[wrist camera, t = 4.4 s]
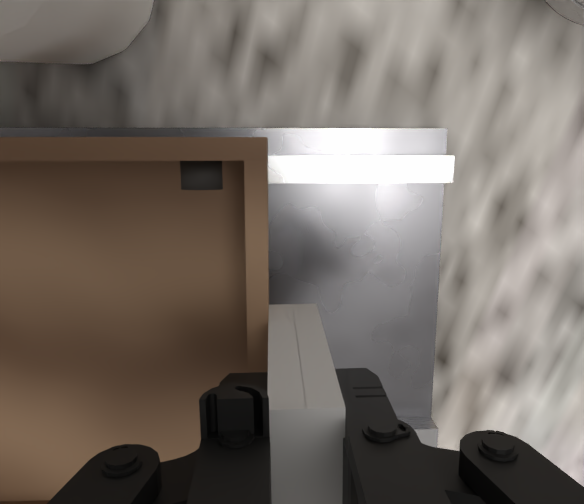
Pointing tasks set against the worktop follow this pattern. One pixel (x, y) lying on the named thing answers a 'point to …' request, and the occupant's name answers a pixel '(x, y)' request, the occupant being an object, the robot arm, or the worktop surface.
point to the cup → (569, 9)
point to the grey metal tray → (351, 242)
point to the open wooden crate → (123, 295)
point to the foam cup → (69, 29)
